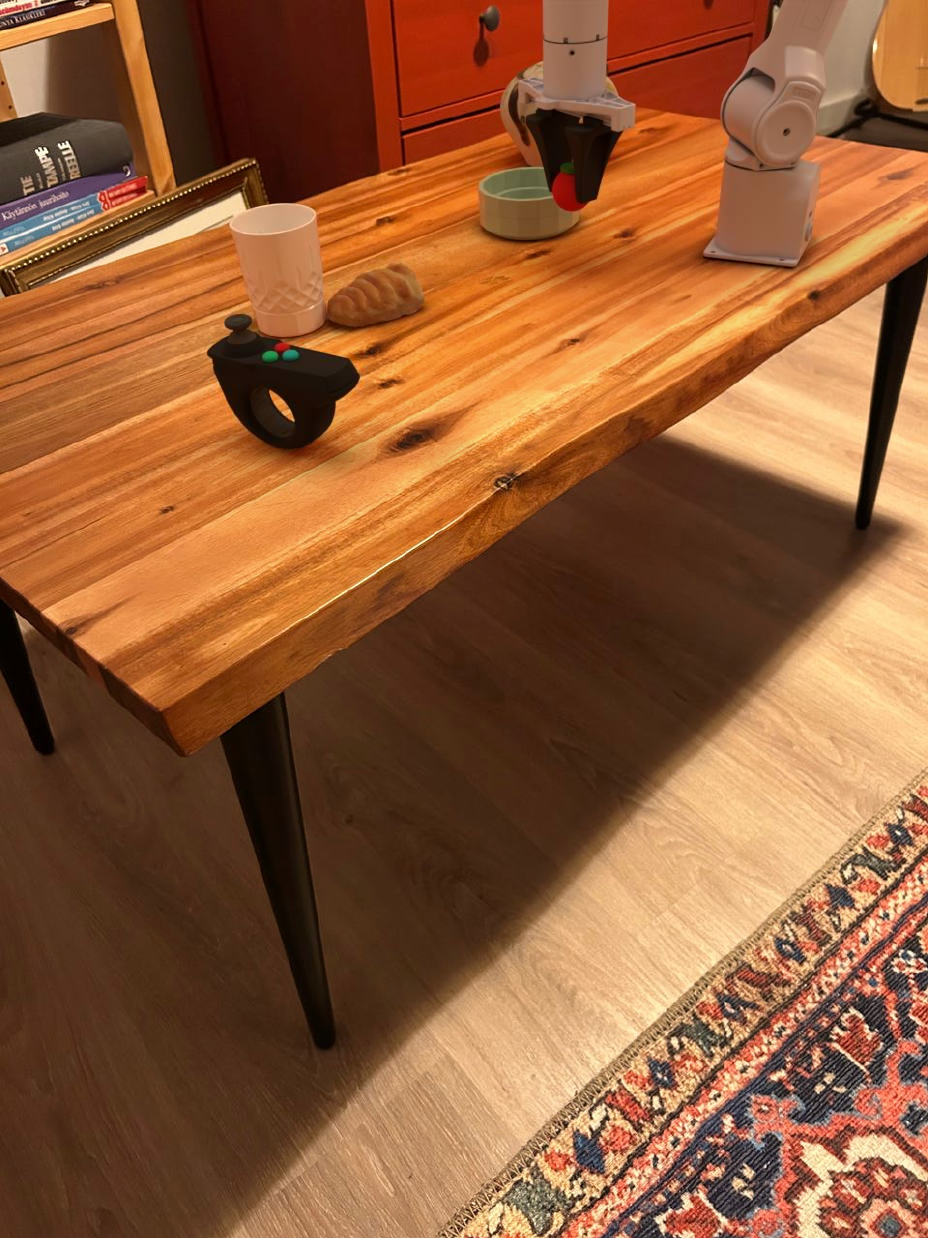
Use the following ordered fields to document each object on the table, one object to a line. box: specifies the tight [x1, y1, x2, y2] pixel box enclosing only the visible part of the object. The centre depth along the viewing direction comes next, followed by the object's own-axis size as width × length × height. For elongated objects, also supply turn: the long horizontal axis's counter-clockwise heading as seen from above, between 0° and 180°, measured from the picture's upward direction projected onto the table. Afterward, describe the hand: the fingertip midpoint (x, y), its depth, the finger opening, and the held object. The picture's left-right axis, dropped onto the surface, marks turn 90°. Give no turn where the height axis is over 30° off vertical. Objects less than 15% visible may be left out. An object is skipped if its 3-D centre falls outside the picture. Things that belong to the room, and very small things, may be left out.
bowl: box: [477, 166, 580, 241], centre depth 109 cm, size 11×11×4 cm
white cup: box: [228, 202, 328, 338], centre depth 91 cm, size 8×8×10 cm
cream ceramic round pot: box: [499, 60, 619, 167], centre depth 122 cm, size 20×15×15 cm
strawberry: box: [552, 162, 590, 212], centre depth 95 cm, size 4×4×4 cm
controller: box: [206, 313, 361, 451], centre depth 74 cm, size 4×12×10 cm, turn 62°
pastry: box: [326, 262, 425, 329], centre depth 94 cm, size 9×7×4 cm
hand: (572, 195), depth 95 cm, fingers closed on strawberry, 4 cm apart
